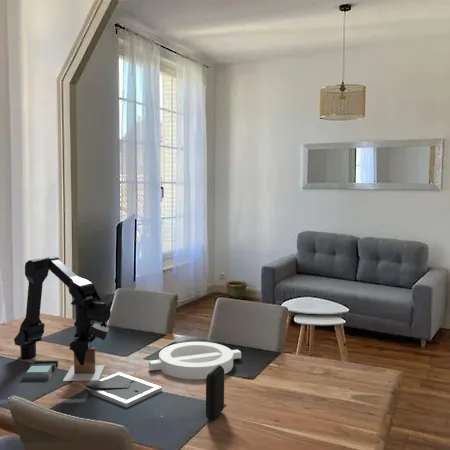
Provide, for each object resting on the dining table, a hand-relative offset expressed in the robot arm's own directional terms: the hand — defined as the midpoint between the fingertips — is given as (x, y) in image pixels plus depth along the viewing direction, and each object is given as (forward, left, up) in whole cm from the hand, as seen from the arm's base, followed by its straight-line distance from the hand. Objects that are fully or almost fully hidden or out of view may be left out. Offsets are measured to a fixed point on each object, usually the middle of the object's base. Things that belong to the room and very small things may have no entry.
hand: (84, 361), depth 183 cm
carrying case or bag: (+33, +45, -5) cm, 56 cm away
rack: (-1, -15, -5) cm, 16 cm away
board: (0, 0, -5) cm, 5 cm away
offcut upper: (+1, -15, -3) cm, 16 cm away
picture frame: (+14, +15, -6) cm, 21 cm away
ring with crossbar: (-9, +40, -6) cm, 41 cm away
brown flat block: (0, 0, -4) cm, 4 cm away
